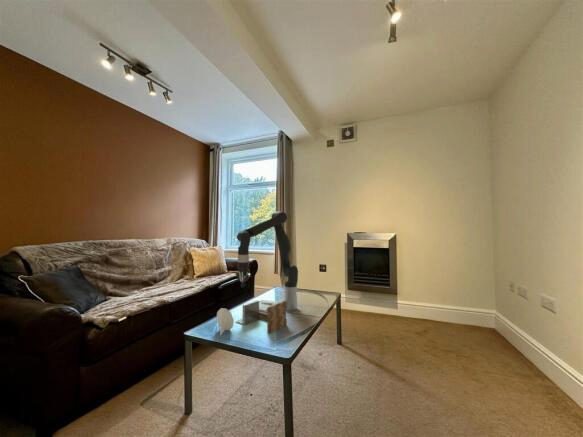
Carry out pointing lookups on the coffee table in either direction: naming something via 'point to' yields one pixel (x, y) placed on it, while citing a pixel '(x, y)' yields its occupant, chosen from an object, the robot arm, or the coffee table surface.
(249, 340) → the coffee table surface
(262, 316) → the shelf rail
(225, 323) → the white faceted rounded block
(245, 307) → the bookend
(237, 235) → the robot arm
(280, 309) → the end panel
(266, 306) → the skincare box
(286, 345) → the coffee table surface
